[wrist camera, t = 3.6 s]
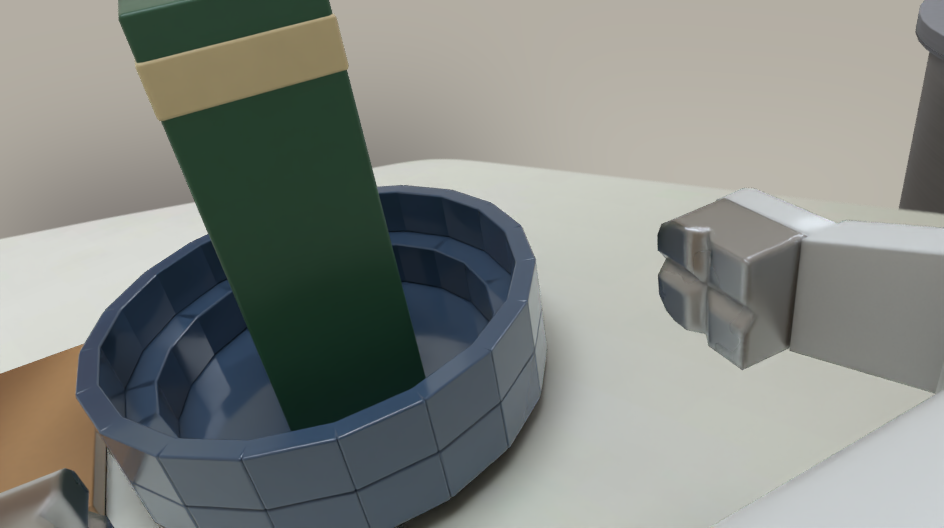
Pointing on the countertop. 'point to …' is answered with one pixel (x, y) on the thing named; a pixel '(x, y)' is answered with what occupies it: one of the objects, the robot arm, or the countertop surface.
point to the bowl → (338, 443)
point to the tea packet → (283, 192)
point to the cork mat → (48, 427)
